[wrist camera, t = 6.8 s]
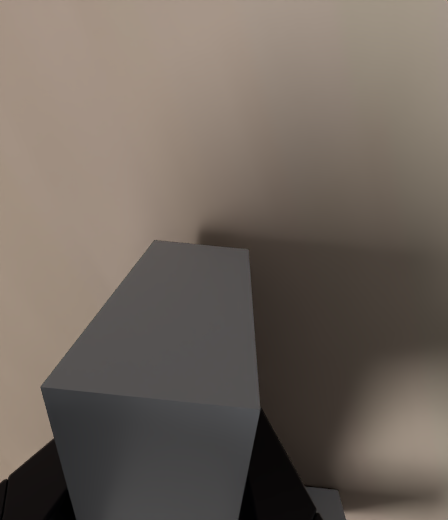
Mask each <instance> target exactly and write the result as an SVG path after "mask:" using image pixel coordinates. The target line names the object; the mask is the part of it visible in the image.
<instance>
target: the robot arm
mask: <svg viewBox="0 0 448 520" xmlns="http://www.w3.org/2000/svg"><path fill="white" fill-rule="evenodd" d="M316 512H317V508H316V506H315V504H314V502H313V500H312V499H311V497H310V495H309V493H308V491H307V490H306V488H305V486H304V484H303V482H302V481H301V479H300V477H299V475H298V473H297V471H296V470H295V468H294V466H293V464H292V462H291V461H290V459H289V457H288V455H287V453H286V452H285V450H284V448H283V446H282V444H281V443H280V441H279V439H278V437H277V435H276V434H275V432H274V430H273V428H272V426H271V424H270V423H269V421H268V419H267V417H266V415H265V414H264V412H263V410H262V408H261V406H260V414H259V419H258V424H257V429H256V434H255V439H254V444H253V448H252V453H251V458H250V463H249V468H248V473H247V478H246V483H245V488H244V493H243V498H242V503H241V508H240V513H239V518H238V520H323V518H322V516H321V515H320V513H319V512H317V513H316ZM0 520H76V517H75V513H74V510H73V506H72V502H71V499H70V495H69V491H68V487H67V484H66V480H65V476H64V473H63V469H62V465H61V462H60V458H59V454H58V450H57V447H56V443H55V439H52V440H51V441H50V442H49V443H48V444H46V445H45V446H44V447H43V448H42V449H40V450H39V451H38V452H37V453H36V454H34V455H33V456H32V457H31V458H30V459H29V460H27V461H26V462H25V463H24V464H23V465H21V466H20V467H19V468H18V469H17V470H15V471H14V472H13V473H12V474H11V475H9V477H8V479H4V480H3V481H2V482H1V483H0Z"/></svg>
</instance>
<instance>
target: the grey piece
mask: <svg viewBox="0 0 448 520" xmlns="http://www.w3.org/2000/svg"><path fill="white" fill-rule="evenodd" d="M41 391H42V395H43V399H44V402H45V406H46V410H47V413H48V417H49V421H50V424H51V428H52V432H53V436H54V439H55V443H56V447H57V450H58V454H59V458H60V462H61V465H62V469H63V473H64V476H65V480H66V484H67V487H68V491H69V495H70V499H71V502H72V506H73V510H74V513H75V517H76V520H238V518H239V513H240V508H241V503H242V498H243V493H244V488H245V483H246V478H247V473H248V468H249V463H250V458H251V453H252V448H253V444H254V439H255V434H256V429H257V424H258V419H259V414H260V398H259V384H258V371H257V357H256V343H255V330H254V316H253V302H252V289H251V275H250V262H249V249H240V248H230V247H220V246H209V245H199V244H189V243H178V242H168V241H158V240H154V241H153V243H152V244H151V245H150V246H149V248H148V249H147V250H146V252H145V253H144V254H143V256H142V257H141V258H140V259H139V261H138V262H137V263H136V265H135V266H134V267H133V268H132V270H131V271H130V272H129V274H128V275H127V276H126V277H125V279H124V280H123V281H122V283H121V284H120V285H119V286H118V288H117V289H116V290H115V292H114V293H113V294H112V295H111V297H110V298H109V299H108V301H107V302H106V303H105V304H104V306H103V307H102V308H101V310H100V311H99V312H98V313H97V315H96V316H95V317H94V319H93V320H92V321H91V322H90V324H89V325H88V326H87V328H86V329H85V330H84V331H83V333H82V334H81V335H80V337H79V338H78V339H77V340H76V342H75V343H74V344H73V346H72V347H71V348H70V349H69V351H68V352H67V353H66V355H65V356H64V357H63V358H62V360H61V361H60V362H59V364H58V365H57V366H56V367H55V369H54V370H53V371H52V373H51V374H50V375H49V376H48V378H47V379H46V380H45V382H44V383H43V384H42V385H41ZM305 488H306V490H307V491H308V493H309V495H310V497H311V499H312V500H313V502H314V504H315V506H316V508H317V512H319V513H320V515H321V516H322V518H323V520H346V518H345V514H344V510H343V507H342V503H341V499H340V496H339V492H338V490H333V489H323V488H314V487H305ZM317 512H316V513H317Z"/></svg>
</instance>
